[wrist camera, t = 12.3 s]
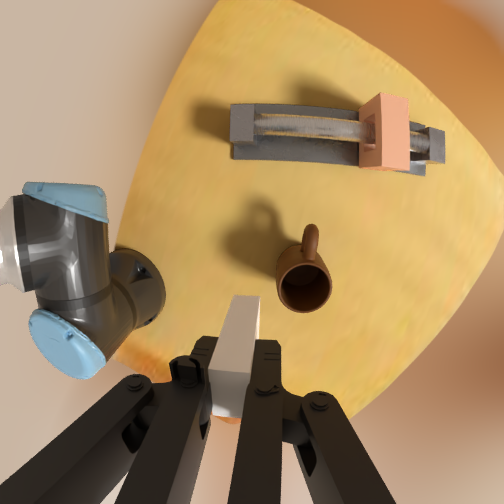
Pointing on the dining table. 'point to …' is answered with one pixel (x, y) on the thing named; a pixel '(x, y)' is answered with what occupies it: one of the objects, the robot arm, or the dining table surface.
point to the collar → (386, 134)
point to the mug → (303, 275)
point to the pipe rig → (319, 136)
